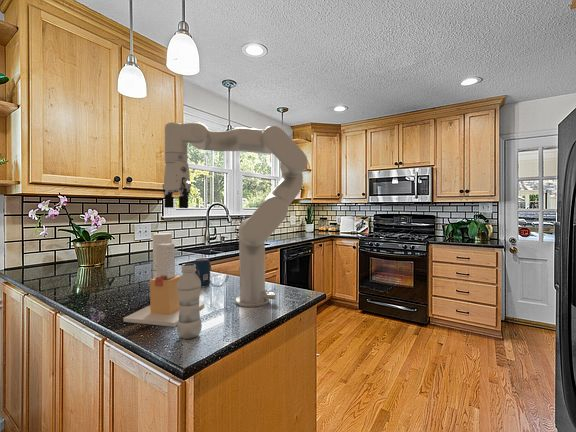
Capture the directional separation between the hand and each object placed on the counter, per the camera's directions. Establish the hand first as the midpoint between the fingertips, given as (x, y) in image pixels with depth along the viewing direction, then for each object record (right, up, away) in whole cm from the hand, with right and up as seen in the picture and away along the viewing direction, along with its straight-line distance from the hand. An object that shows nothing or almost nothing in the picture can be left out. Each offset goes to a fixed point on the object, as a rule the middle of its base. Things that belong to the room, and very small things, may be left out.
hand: (176, 207), depth 106 cm
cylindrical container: (-11, -35, +15) cm, 40 cm away
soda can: (+1, -35, +30) cm, 46 cm away
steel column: (-1, -34, -6) cm, 35 cm away
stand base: (-1, -36, -6) cm, 36 cm away
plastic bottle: (+12, -37, -23) cm, 45 cm away
